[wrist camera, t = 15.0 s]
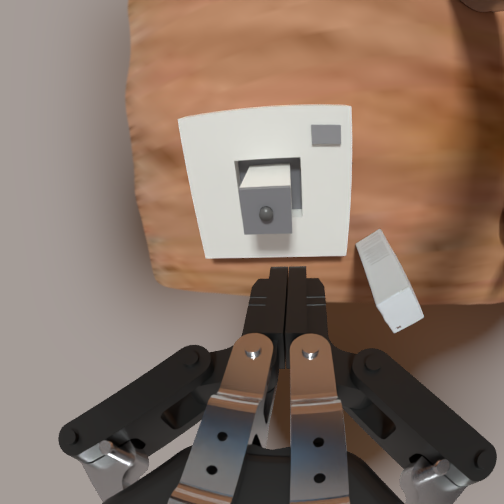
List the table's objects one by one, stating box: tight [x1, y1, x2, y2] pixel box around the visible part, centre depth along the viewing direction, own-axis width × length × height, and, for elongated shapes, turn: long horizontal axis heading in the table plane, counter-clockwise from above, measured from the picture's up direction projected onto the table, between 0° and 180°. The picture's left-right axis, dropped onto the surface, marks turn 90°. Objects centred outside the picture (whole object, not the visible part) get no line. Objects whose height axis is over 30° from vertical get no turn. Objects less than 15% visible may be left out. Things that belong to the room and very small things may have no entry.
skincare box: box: [356, 229, 424, 333], centre depth 30 cm, size 6×4×12 cm
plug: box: [238, 163, 292, 235], centre depth 27 cm, size 4×4×9 cm
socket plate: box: [178, 104, 352, 258], centre depth 30 cm, size 18×18×3 cm
